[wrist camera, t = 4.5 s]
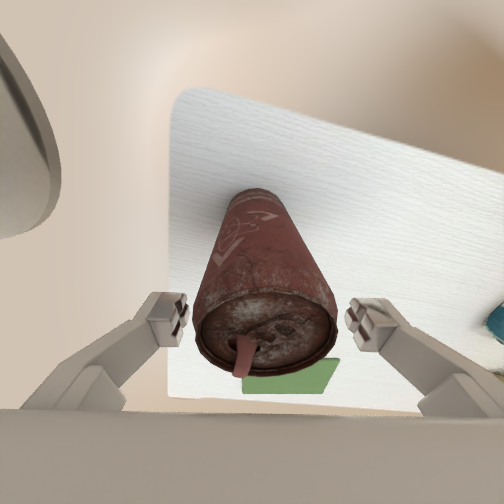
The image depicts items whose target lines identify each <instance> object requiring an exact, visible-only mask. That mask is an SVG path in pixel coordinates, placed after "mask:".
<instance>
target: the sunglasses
mask: <svg viewBox="0 0 504 504" xmlns="http://www.w3.org/2000/svg"><path fill="white" fill-rule="evenodd" d="M485 327H486V328H487V330H488V331H489V332H490V333H491V334H492V335H493V337H494V338H495V339H496V340H497V341H499V342H500V343H501V344H503V345H504V305H501V306H499V307H498V308H497V309H496V310H495V311H494V312H493V313H492V314H491V315H490V316H489V318H488V320H487V322H486V324H485Z"/></svg>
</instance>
